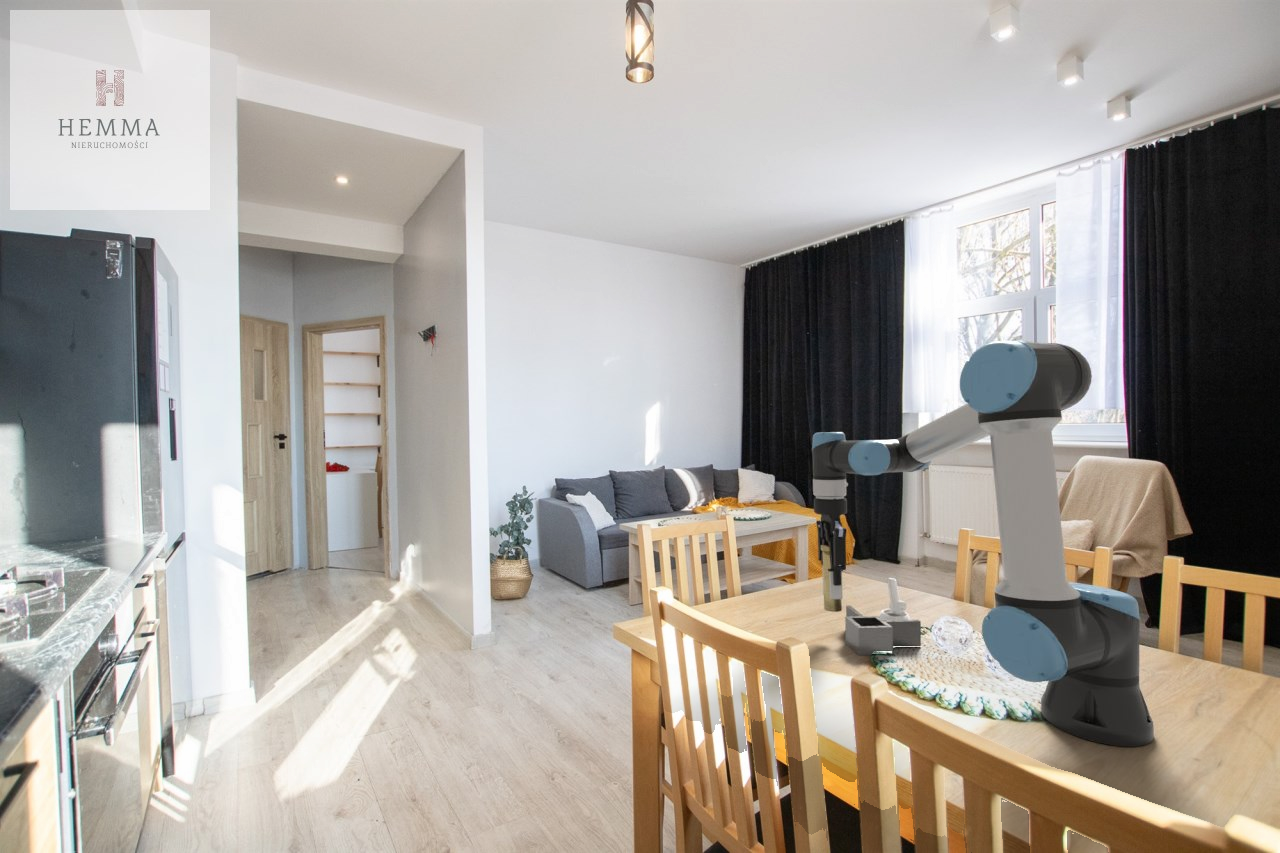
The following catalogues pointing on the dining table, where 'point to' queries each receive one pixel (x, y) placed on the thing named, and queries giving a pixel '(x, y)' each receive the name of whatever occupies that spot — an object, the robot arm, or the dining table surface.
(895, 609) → the hook
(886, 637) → the hinge base
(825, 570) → the hinge pin
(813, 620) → the dining table surface
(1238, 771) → the dining table surface
